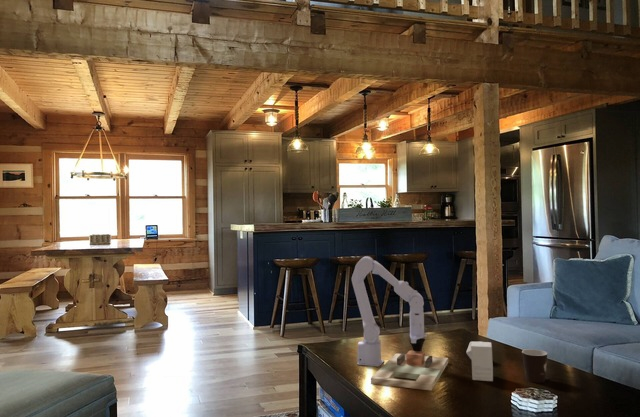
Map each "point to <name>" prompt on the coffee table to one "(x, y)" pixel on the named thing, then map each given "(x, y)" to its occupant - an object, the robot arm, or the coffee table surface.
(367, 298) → the robot arm
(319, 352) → the coffee table surface
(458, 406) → the coffee table surface
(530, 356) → the coffee mug
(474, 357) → the supplement box
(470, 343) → the die
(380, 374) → the deck
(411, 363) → the block
